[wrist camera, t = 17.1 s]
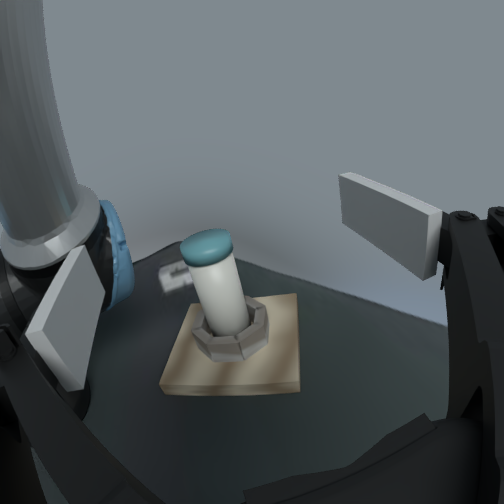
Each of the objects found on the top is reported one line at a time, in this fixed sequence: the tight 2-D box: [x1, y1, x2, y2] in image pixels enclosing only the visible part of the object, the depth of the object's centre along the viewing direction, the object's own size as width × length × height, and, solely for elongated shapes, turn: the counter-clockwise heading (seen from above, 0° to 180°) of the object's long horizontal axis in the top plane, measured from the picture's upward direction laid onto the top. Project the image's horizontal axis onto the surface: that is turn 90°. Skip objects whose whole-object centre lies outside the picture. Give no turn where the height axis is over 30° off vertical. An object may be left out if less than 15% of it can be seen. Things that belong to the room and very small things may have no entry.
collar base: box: [159, 293, 300, 396], centre depth 38 cm, size 16×16×5 cm
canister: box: [180, 229, 251, 337], centre depth 35 cm, size 5×5×14 cm
